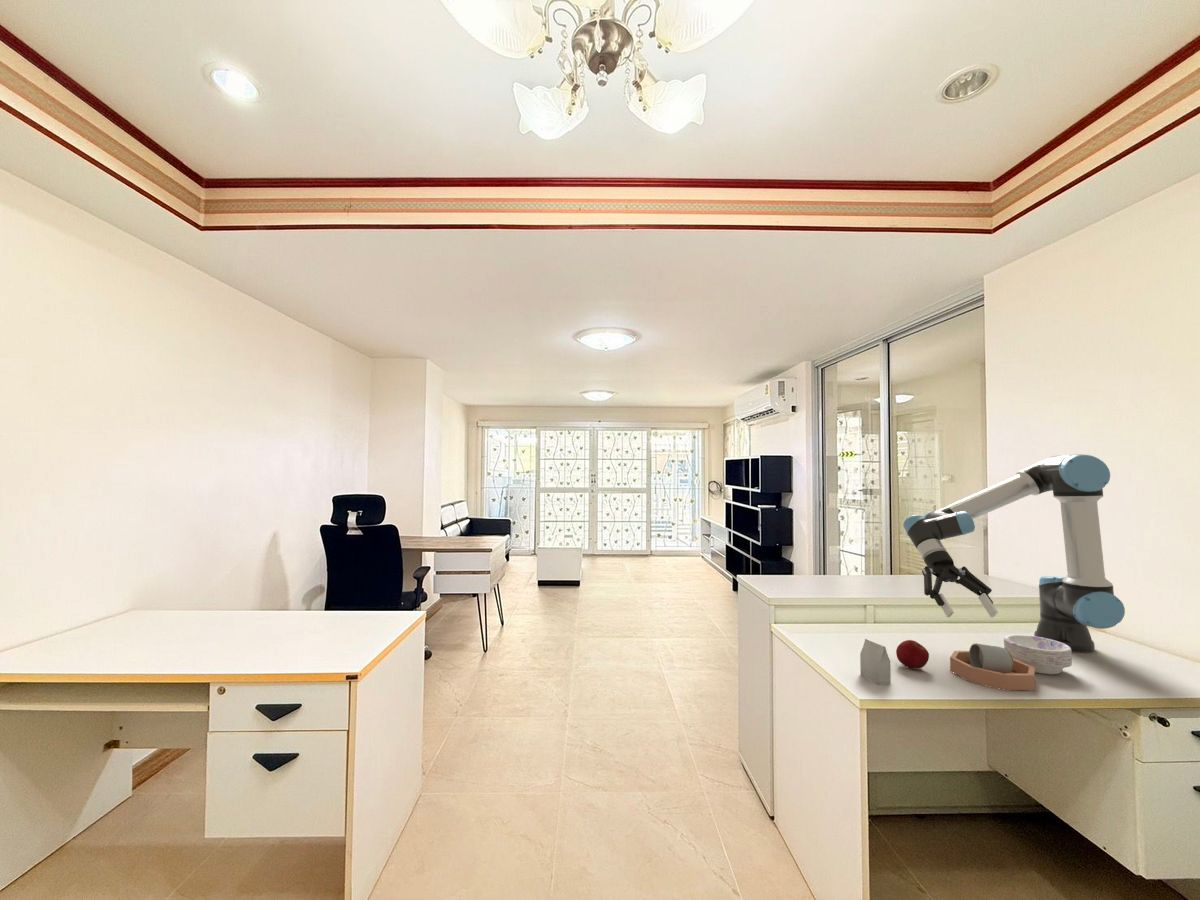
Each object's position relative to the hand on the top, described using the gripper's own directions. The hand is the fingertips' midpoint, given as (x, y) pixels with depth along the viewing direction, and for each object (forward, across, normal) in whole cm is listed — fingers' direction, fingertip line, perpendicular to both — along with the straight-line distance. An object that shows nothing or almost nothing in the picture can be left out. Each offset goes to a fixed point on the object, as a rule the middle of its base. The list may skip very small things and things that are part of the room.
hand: (972, 615), depth 148 cm
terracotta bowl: (+16, 0, -6) cm, 17 cm away
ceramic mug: (+14, 0, -7) cm, 15 cm away
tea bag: (+17, +35, -5) cm, 39 cm away
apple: (+11, +19, -11) cm, 25 cm away
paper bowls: (+12, -19, -11) cm, 25 cm away
